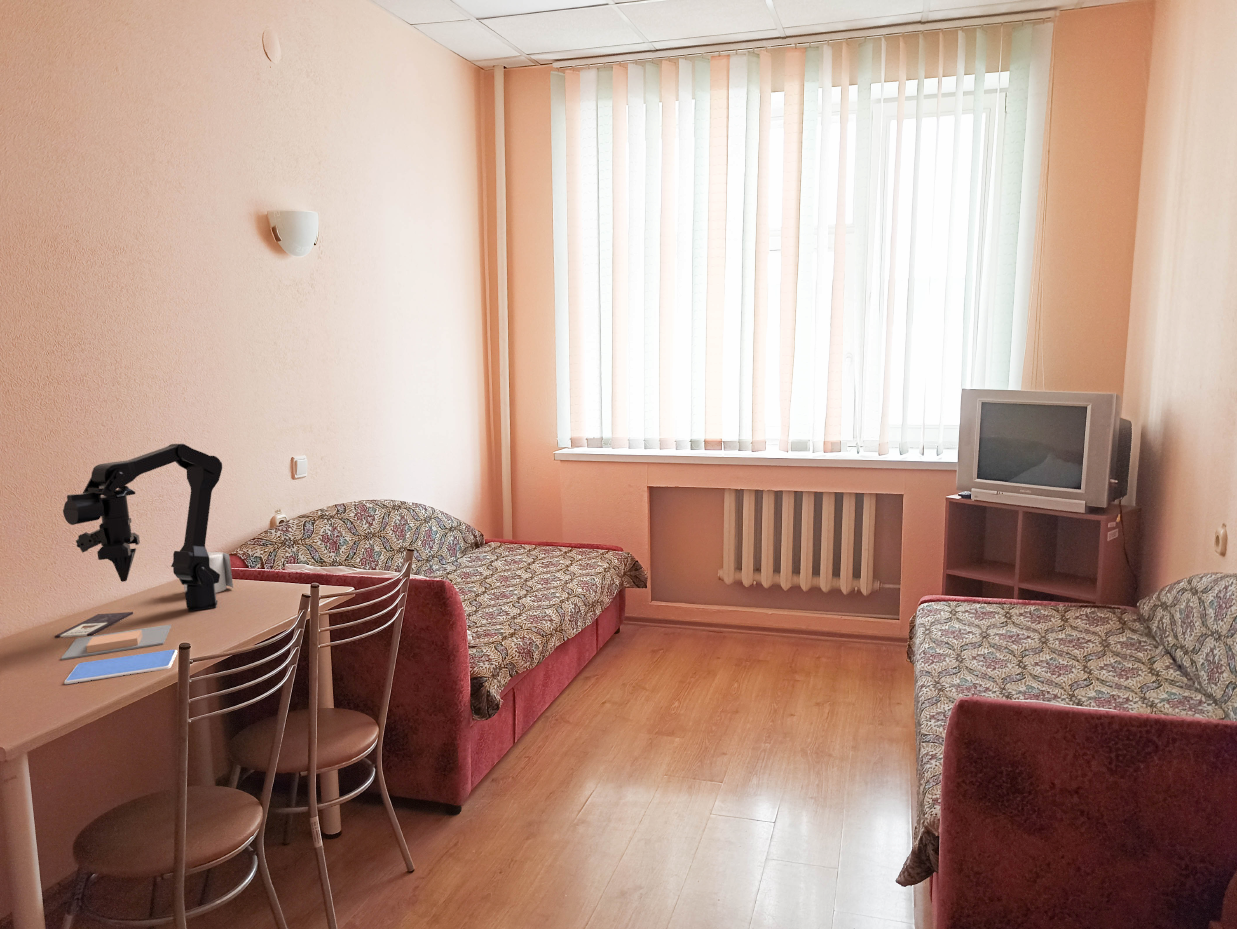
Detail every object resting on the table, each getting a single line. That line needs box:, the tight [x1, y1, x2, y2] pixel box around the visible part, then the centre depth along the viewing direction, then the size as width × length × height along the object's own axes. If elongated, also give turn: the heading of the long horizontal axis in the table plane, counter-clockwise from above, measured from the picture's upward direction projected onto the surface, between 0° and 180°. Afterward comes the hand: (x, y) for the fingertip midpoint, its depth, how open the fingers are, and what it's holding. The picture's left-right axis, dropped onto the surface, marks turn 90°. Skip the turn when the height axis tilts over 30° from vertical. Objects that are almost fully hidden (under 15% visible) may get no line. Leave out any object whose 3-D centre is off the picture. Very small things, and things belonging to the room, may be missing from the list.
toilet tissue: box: [183, 551, 234, 594], centre depth 252 cm, size 11×12×10 cm
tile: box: [86, 630, 142, 653], centre depth 204 cm, size 10×2×7 cm
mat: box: [60, 624, 172, 661], centre depth 208 cm, size 20×16×1 cm
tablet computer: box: [63, 649, 178, 685], centre depth 189 cm, size 19×13×1 cm, turn 109°
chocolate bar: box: [54, 611, 134, 639], centre depth 224 cm, size 9×1×18 cm
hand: (124, 581), depth 216 cm, fingers closed
